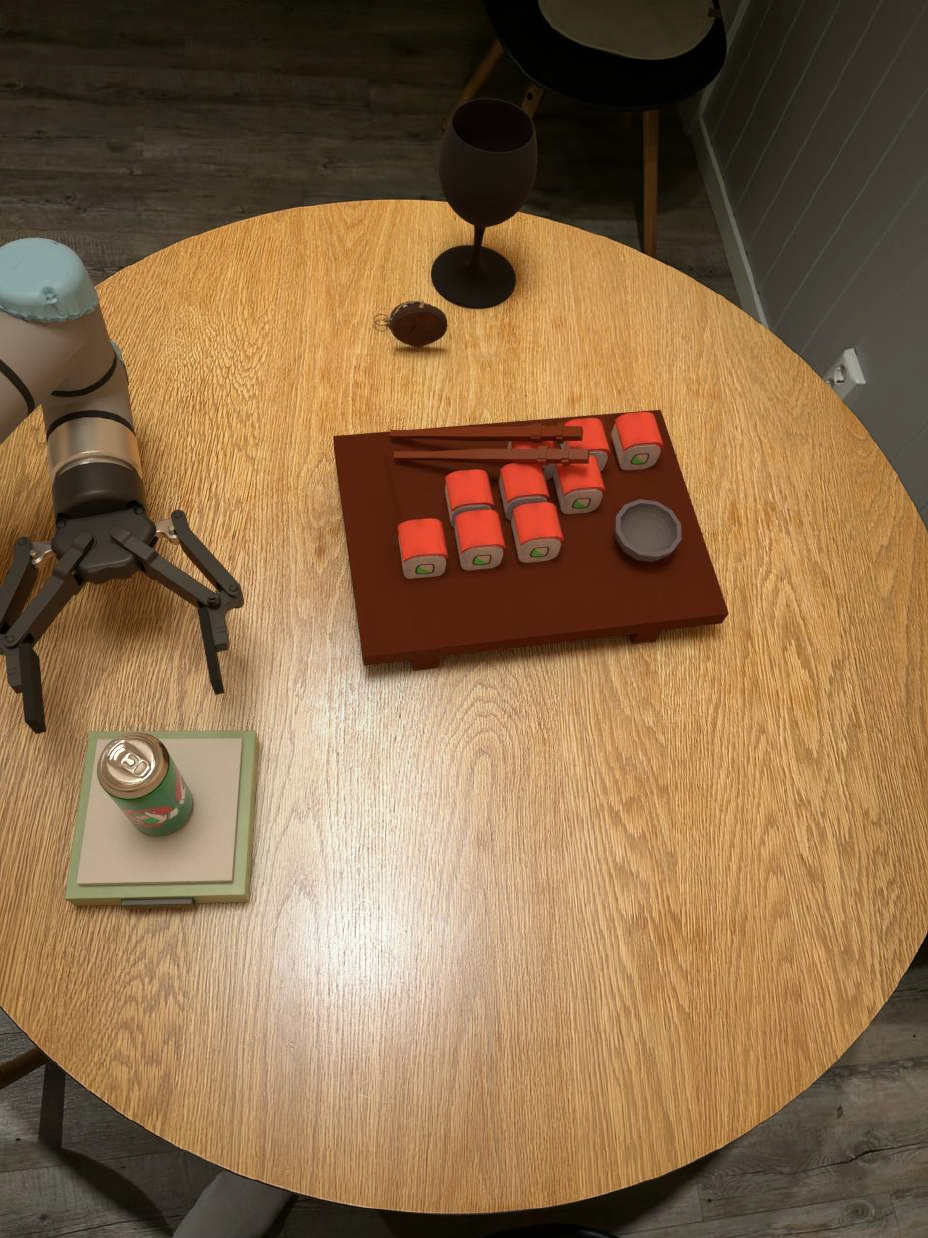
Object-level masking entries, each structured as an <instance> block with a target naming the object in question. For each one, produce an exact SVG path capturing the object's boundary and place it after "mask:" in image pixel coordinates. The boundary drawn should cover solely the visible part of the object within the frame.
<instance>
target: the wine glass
mask: <svg viewBox="0 0 928 1238" xmlns="http://www.w3.org/2000/svg"><path fill="white" fill-rule="evenodd" d="M537 140H538V139H537V131H536V126H535V123H534V121H533V119H532V117H531V116H530V115H529V113H528V112H527V111H525V110H524V109H523V108H521V106H518V105H517V104H515V103H513V102H510V101H508V100H504V99H500V98H494V97H493V98H491V97H480V98H474V99H471V100H468V101H465V102H464V103H462V104H460V105H459V106H458V107H457V108H456V109H454V111H453V113H452V115H451V117H450V118H449V122H448V124H447V127H446V129H445V132H444V135H443V138H442V142H441V146H440V150H439V157H438V177H439V183H440V187H441V192H442V194H443V196H444V198H445V200H446V202H447V204H448V205H449V207H450V208H451V210H452V211H453V212H454V213H455V214H456V215H457V216H458V217H459V218H461V220H463V221H465V222H466V223H468V224H470V225H472V226H473V244H462V245H455V246H453V247H450V248H448V249H446V250H444V251H443V252H441V253H440V254H439V255H438V256H437V257H436V258H435V260H434V261H433V263H432V265H431V270H430V278H431V283H432V285H433V287H434V288H435V290H436V292H437V293H438V294H439V295H440V296H442V297H443V298H444V299H445V300H446V301H448V302H450V303H452V304H454V305H456V306H458V307H463V308H467V309H478V310H479V309H487V308H492V307H495V306H498V305H500V304H501V303H504V302H505V301H506V300H508V299H509V297H510V296H511V295H512V294H513V292H514V290H515V288H516V282H517V276H516V272H515V269H514V267H513V265H512V264H511V262H510V261H509V260H508V259H507V258H506V257H505V256H504V255H503V254H501V253H500V252H499V251H496V250H494V249H492V248H490V247H486V246H483V240H484V235H485V231H486V229H487V228H491V227H495V226H498V225H500V224H503V223H505V222H507V221H508V220H510V219H512V218H513V217H515V215H516V214H517V213H518V212H520V210H522V208H523V206H524V205H525V203H526V202H527V200H528V199H529V197H530V195H531V193H532V190H533V187H534V184H535V181H536V176H537V169H538V156H539V155H538V141H537Z"/></svg>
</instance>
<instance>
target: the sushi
mask: <svg viewBox="0 0 928 1238" xmlns="http://www.w3.org/2000/svg"><path fill="white" fill-rule="evenodd" d="M332 438H333V439H332V440H333V452H334V460H335V467H336V475H337V481H338V482H337V483H338V488H339V490H338V491H339V496H340V504H341V510H342V512H341V513H342V519H343V526H344V532H345V540H346V547H347V555H348V562H349V569H350V577H351V584H352V591H353V598H354V599H353V600H354V606H355V612H356V621H357V628H358V634H359V642H360V643H359V644H360V650H361V657H362V664H363V667H371V666H380V665H388V664H397V663H404V662H411V667H412V671H413V672H417V671H425V670H433V669H439V666H440V659H441V658H445V657H454V656H462V655H471V654H480V653H487V652H488V653H489V652H495V651H503V650H504V651H505V650H513V649H522V648H529V647H537V646H546V645H555V644H564V643H571V642H579V641H588V640H597V639H605V638H612V637H623V636H629V637H630V642H631V645H636V644H637V645H638V644H642V643H643V644H645V643H652V642H656V641H657V639H658V638H659V636H660V635H661V633H662V632H663V631H664V632H665V631H672V630H679V629H688V628H697V627H705V626H712V625H713V626H714V625H722V624H723V622H724V621H725V620H726V618H727V617H728V616H729V614H730V612H729V610H728V607H727V604H726V601H725V597H724V595H723V592H722V591H723V590H722V589H721V586H720V583H719V580H718V577H717V574H716V571H715V567H714V565H713V561H712V559H711V555H710V552H709V550H708V547H707V544H706V541H705V537H704V534H703V531H702V529H701V526H700V523H699V520H698V516H697V514H696V511H695V508H694V505H693V502H692V498H691V496H690V493H689V490H688V486H687V484H686V481H685V477H684V475H683V471H682V469H681V466H680V463H679V460H678V457H677V453H676V451H675V448H674V445H673V442H672V439H671V436H670V433H669V430H668V427H667V424H666V420H665V418H664V416H663V412H662V409H651V410H639V411H627V412H614V413H601V414H590V415H589V414H588V415H577V416H564V417H552V418H551V417H549V418H539V419H528V420H526V419H525V420H515V421H502V422H489V423H477V424H466V425H453V426H441V427H440V426H439V427H425V428H416V429H415V428H413V429H390V430H388V431H379V432H365V433H352V434H342V435H341V434H339V435H333V436H332Z"/></svg>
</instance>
